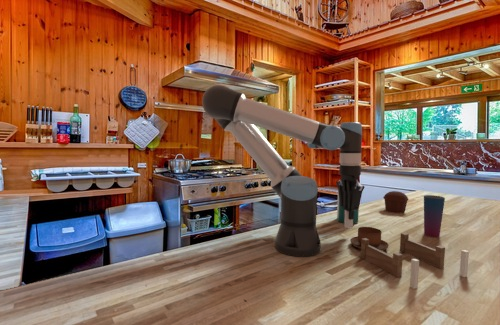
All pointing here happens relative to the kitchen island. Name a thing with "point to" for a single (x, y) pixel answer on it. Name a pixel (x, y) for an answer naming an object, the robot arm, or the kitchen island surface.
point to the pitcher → (341, 213)
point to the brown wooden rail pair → (406, 246)
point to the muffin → (395, 201)
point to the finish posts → (416, 268)
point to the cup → (433, 215)
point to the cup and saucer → (370, 234)
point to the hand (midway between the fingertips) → (348, 227)
